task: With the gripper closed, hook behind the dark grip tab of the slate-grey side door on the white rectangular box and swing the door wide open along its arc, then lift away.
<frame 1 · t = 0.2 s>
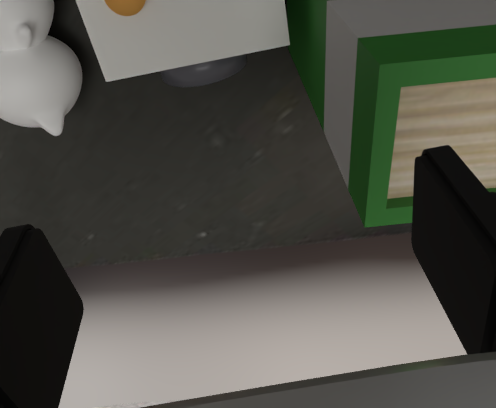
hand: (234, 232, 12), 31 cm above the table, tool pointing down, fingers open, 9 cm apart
cat figurine: (44, 30, 38), on the table
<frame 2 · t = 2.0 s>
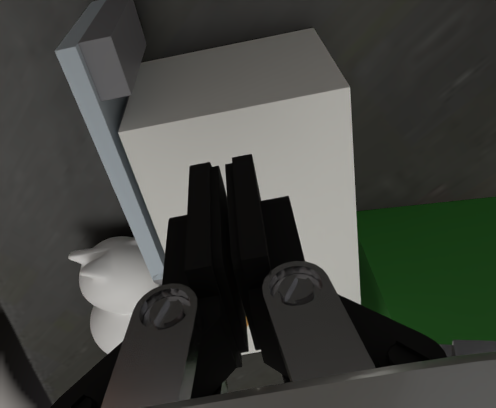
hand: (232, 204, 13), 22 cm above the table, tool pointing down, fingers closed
hardback book: (440, 232, 44), on the table
cat figurine: (145, 264, 44), on the table
side door: (144, 145, 30), point 5 cm above the table, hinge at 0.0°
white rectangular box: (250, 168, 38), on the table
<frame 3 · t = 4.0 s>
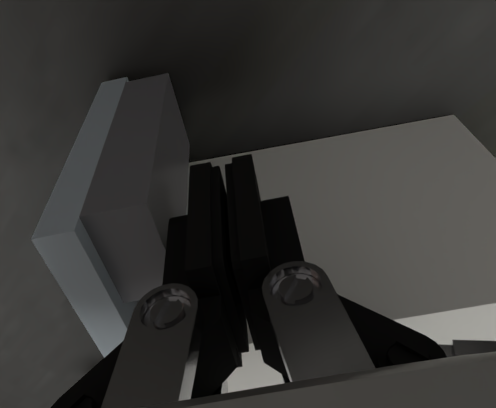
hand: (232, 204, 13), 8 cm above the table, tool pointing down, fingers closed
side door: (187, 308, 19), point 5 cm above the table, hinge at 1.4°, touching gripper
white rectangular box: (329, 294, 27), on the table
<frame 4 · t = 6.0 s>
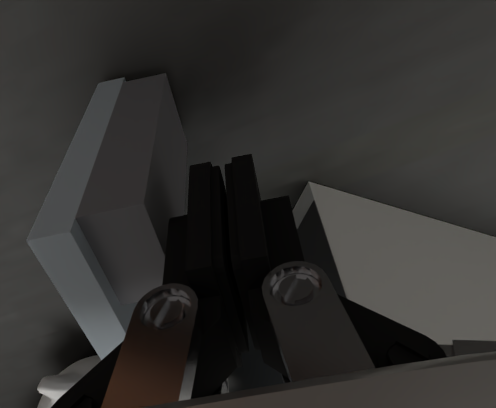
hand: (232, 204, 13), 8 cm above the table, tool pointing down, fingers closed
cat figurine: (120, 385, 30), on the table, touching white rectangular box
side door: (186, 310, 19), point 5 cm above the table, hinge at 32.5°, touching gripper
white rectangular box: (325, 339, 29), on the table
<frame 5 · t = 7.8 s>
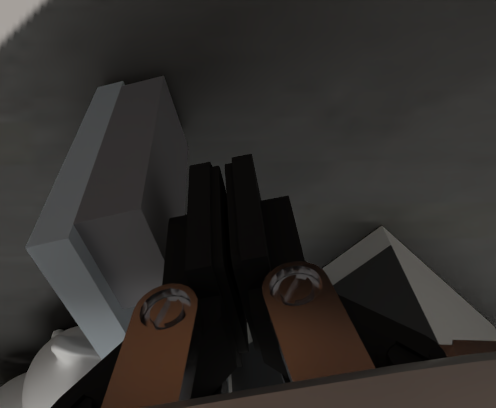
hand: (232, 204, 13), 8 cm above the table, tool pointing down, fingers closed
cat figurine: (95, 360, 29), on the table
side door: (191, 311, 19), point 5 cm above the table, hinge at 57.6°, touching gripper
white rectangular box: (308, 366, 30), on the table
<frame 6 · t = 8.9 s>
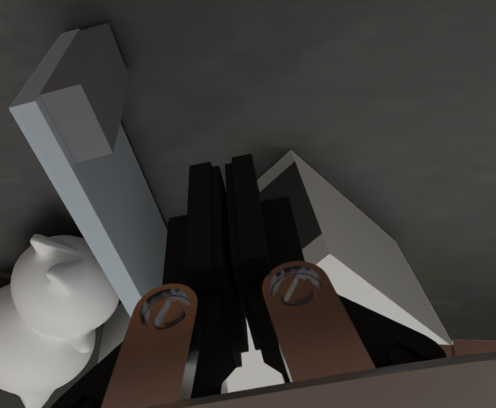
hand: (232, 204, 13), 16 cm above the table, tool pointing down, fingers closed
cat figurine: (72, 275, 35), on the table
side door: (135, 201, 25), point 5 cm above the table, hinge at 57.7°
white rectangular box: (247, 279, 37), on the table
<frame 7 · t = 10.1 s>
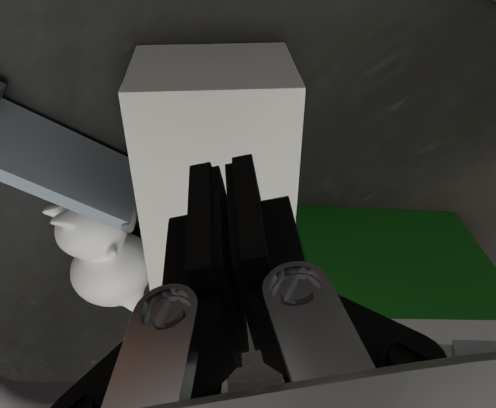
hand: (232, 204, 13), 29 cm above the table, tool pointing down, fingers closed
hardback book: (366, 235, 52), on the table
cat figurine: (118, 222, 49), on the table
side door: (49, 148, 37), point 5 cm above the table, hinge at 57.7°
white rectangular box: (215, 152, 44), on the table
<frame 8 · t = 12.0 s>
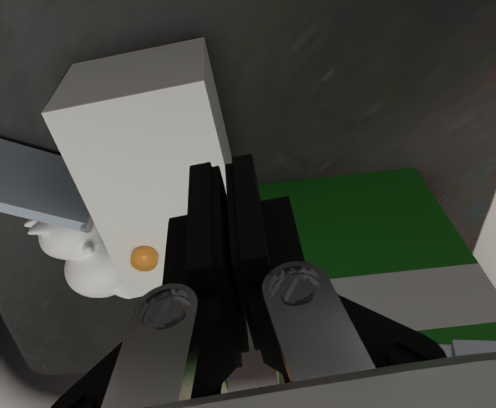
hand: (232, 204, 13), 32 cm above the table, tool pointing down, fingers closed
hardback book: (332, 202, 54), on the table
cat figurine: (102, 221, 53), on the table
side door: (12, 168, 42), point 5 cm above the table, hinge at 57.7°
white rectangular box: (168, 147, 48), on the table
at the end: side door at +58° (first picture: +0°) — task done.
